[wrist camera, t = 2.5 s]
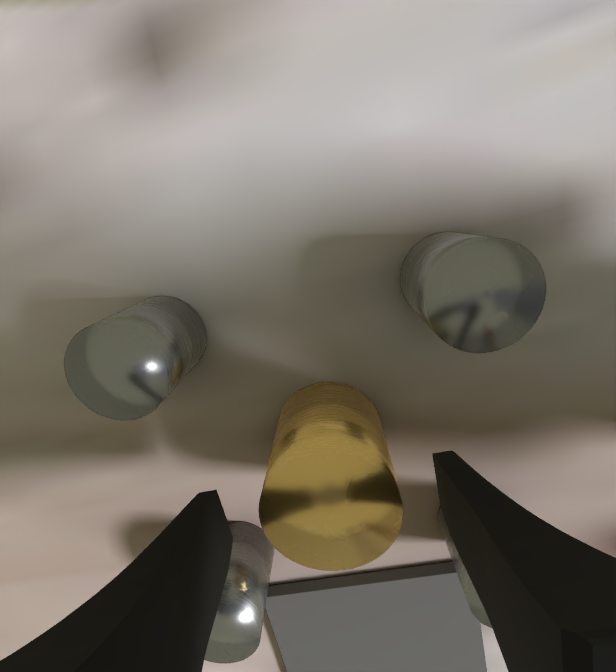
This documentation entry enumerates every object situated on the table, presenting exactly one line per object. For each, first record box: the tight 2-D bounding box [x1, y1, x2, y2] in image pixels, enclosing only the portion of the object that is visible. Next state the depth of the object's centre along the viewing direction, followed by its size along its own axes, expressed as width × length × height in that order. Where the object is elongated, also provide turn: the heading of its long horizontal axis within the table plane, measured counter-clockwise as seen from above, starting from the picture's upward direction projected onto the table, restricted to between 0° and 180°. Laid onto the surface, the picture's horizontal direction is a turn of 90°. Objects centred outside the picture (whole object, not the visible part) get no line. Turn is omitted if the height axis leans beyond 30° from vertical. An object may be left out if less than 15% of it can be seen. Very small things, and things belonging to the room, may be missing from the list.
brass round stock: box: [259, 382, 403, 571], centre depth 14 cm, size 4×4×5 cm
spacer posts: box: [64, 232, 546, 663], centre depth 15 cm, size 14×14×4 cm
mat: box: [265, 561, 487, 672], centre depth 20 cm, size 10×10×1 cm
